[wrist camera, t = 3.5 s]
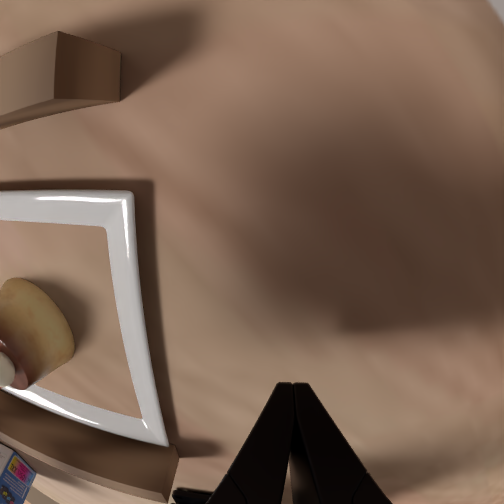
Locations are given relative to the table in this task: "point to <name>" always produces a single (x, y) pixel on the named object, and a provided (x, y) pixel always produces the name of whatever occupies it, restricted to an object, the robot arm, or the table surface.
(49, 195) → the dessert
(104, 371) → the table surface
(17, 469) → the ink cartridge box
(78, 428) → the walled channel
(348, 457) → the robot arm
